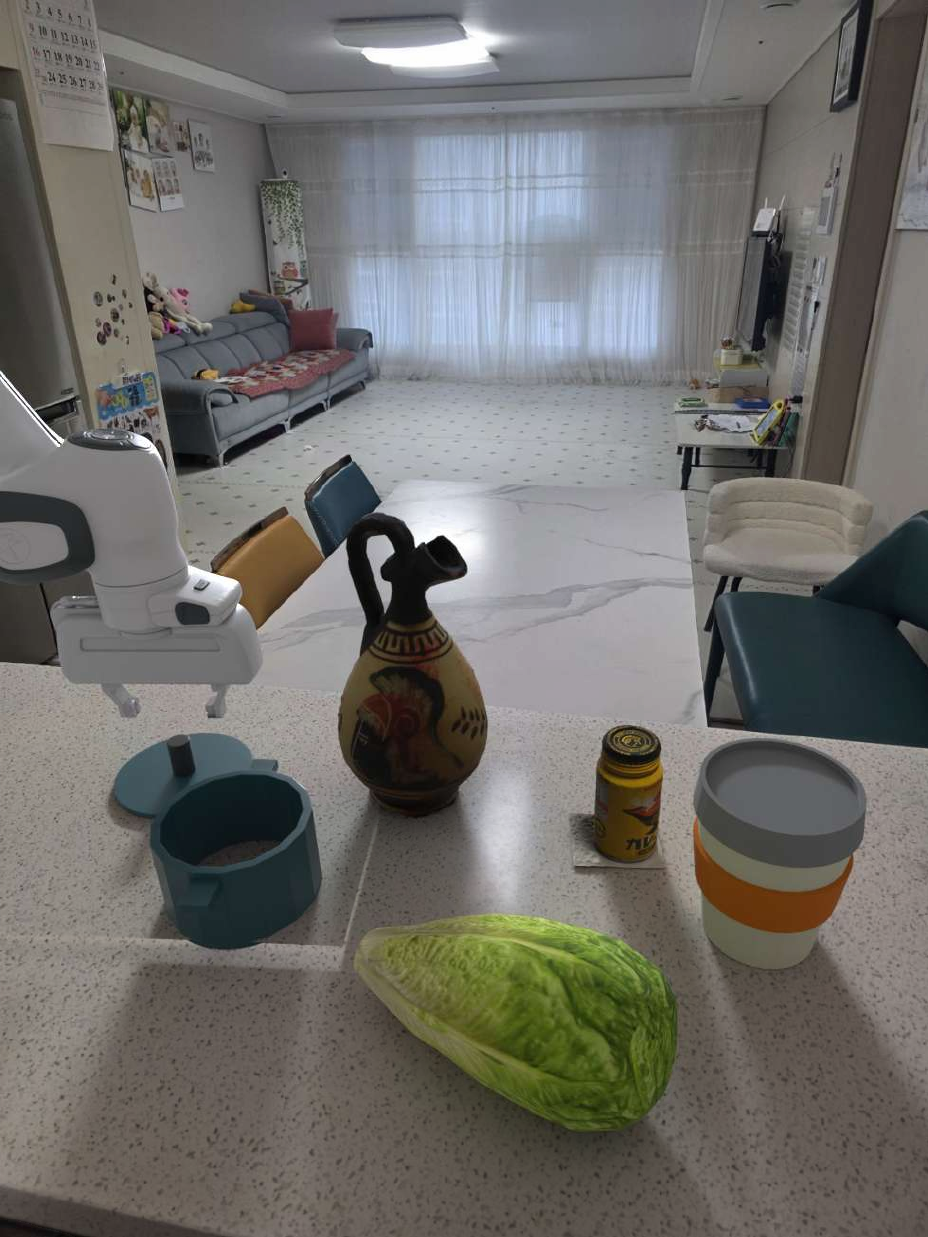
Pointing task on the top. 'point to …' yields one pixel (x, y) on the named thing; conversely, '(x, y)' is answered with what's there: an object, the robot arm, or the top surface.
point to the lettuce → (533, 1011)
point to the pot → (247, 891)
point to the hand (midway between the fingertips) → (174, 715)
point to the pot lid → (176, 769)
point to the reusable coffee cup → (773, 846)
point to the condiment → (623, 804)
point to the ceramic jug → (409, 679)
